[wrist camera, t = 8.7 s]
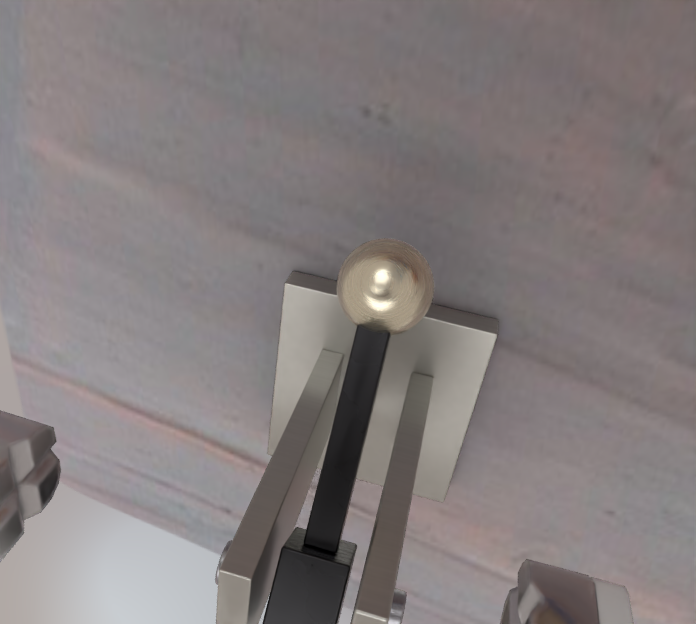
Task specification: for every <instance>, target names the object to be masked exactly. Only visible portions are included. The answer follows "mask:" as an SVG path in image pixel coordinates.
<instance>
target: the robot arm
mask: <svg viewBox="0 0 696 624" xmlns="http://www.w3.org/2000/svg"><path fill="white" fill-rule="evenodd" d="M55 443H56V437H55V432H54V428H53V427H51V426H48V425H45V424H42V423H39V422H36V421H32V420H29V419H26V418H23V417H19V416H16V415H13V414H10V413H7V412H3V411H0V562H1V561H2V559H3V558H4V557H5V556H6V554H7V553H8V552H9V551H10V550H11V548H12V547H13V546H14V545H15V544H16V542H17V541H18V540H19V539H20V537H21V536H22V535H23V534H24V520H26V519H28V518H30V517H32V516H34V515H36V514H39V513H41V512H42V510H43V509H44V508H45V507H46V505H47V504H48V503H49V501H50V500H51V499H52V497H53V494H54V492H55V490H56V488H57V486H58V483H59V478H60V471H61V469H60V461H59V459H58V458H57V457H56V455H55V454H54V453H53V452H52V450H51V449H50V448H51V447H52V446H53V445H54V444H55ZM500 624H634V622H633V616H632V610H631V604H630V598H629V593H628V591H627V589H626V588H625V586H622V585H618V584H615V583H611V582H608V581H604V580H601V579H597V578H594V577H589V576H588V575H585V574H581V573H578V572H574V571H570V570H566V569H563V568H559V567H555V566H551V565H548V564H544V563H540V562H536V561H533V560H529V559H526V560H525V561H524V562H523V563H522V565H521V567H520V570H519V572H518V587H515V588H513V589H511V590H510V591H509V594H508V596H507V599H506V601H505V604H504V608H503V612H502V616H501V621H500Z"/></svg>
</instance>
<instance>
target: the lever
mask: <svg viewBox="0 0 696 624" xmlns="http://www.w3.org/2000/svg"><path fill="white" fill-rule="evenodd" d="M433 295H434V279H433V274H432V271H431V269H430V266H429V264H428V262H427V261H426V259H425V258H424V257H423V255H422V254H421V253H420V252H419V251H418V250H416V249H415V248H414V247H412V246H411V245H409V244H407V243H405V242H403V241H400V240H396V239H388V238H383V239H376V240H371V241H369V242H366V243H364V244H362V245H360V246H359V247H357V248H356V249H354V250H353V251H352V252H351V253H350V254H349V255H348V257H347V258H346V259H345V261H344V262H343V264H342V266H341V268H340V271H339V274H338V278H337V297H338V301H339V304H340V306H341V308H342V310H343V312H344V314H345V315H346V317H347V318H348V319H349V320H350V321H351V322H352V323H353V324H354V325H355V326H356V327H357V328H356V333H355V337H354V341H353V345H352V349H351V353H350V357H349V361H348V365H347V369H346V373H345V377H344V381H343V385H342V389H341V393H340V397H339V401H338V405H337V409H336V413H335V417H334V421H333V425H332V429H331V433H330V437H329V441H328V445H327V449H326V453H325V457H324V461H323V466H322V470H321V474H320V478H319V482H318V486H317V490H316V494H315V498H314V502H313V506H312V510H311V514H310V518H309V522H308V526H307V530H306V529H302V528H299V527H296V528H295V529H294V531H293V532H292V534H291V535H290V537H289V538H288V539H287V541H286V542H285V544H284V545H283V547H282V548H281V552H280V556H279V560H278V564H277V568H276V572H275V576H274V580H273V584H272V588H271V592H270V596H269V600H268V604H267V608H266V612H265V616H264V620H263V624H338V622H339V618H340V614H341V610H342V606H343V602H344V598H345V594H346V590H347V585H348V581H349V577H350V573H351V569H352V565H353V561H354V557H355V553H356V549H357V545H356V544H354V543H351V542H347V541H344V540H341V538H342V534H343V530H344V525H345V521H346V517H347V513H348V509H349V505H350V501H351V497H352V493H353V489H354V485H355V481H356V477H357V473H358V468H359V464H360V460H361V456H362V452H363V448H364V444H365V440H366V436H367V432H368V428H369V424H370V420H371V416H372V411H373V407H374V403H375V399H376V395H377V391H378V387H379V383H380V379H381V375H382V371H383V367H384V363H385V359H386V354H387V350H388V346H389V342H390V338H391V336H392V335H397V334H400V333H403V332H406V331H408V330H409V329H411V328H413V327H414V326H416V325H417V324H418V323H419V322H420V321H421V320H422V319H423V318H424V316H425V315H426V313H427V312H428V310H429V308H430V306H431V303H432V300H433Z"/></svg>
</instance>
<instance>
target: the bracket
mask: <svg viewBox="0 0 696 624" xmlns="http://www.w3.org/2000/svg"><path fill="white" fill-rule="evenodd" d="M498 323H499V321H498V320H497V319H493V318H488V317H484V316H480V315H476V314H472V313H467V312H463V311H459V310H455V309H451V308H447V307H442V306H438V305H434V304H431V306H430V308H429V310H428V312H427V313H426V315H425V316H424V318H423V319H422V320H421V321H420V322H419V323H418V324H417V325H416V326H414V327H413V328H411V329H409V330H408V331H406V332H403V333H400V334H397V335H392V336H391V338H390V342H389V346H388V350H387V354H386V359H385V363H384V367H383V371H382V375H381V379H380V383H379V387H378V391H377V395H376V399H375V403H374V407H373V411H372V416H371V420H370V424H369V428H368V432H367V436H366V440H365V444H364V448H363V452H362V456H361V460H360V464H359V468H358V473H357V477H356V479H358V480H362V481H366V482H369V483H373V484H376V485H380V486H384V487H383V491H382V495H381V499H380V504H379V508H378V512H377V516H376V520H375V524H374V528H373V532H372V537H371V541H370V545H369V549H368V553H367V557H366V561H365V566H364V570H363V574H362V578H361V582H360V586H359V590H358V594H357V599H356V603H355V607H354V611H353V615H352V620H351V623H350V624H401V623H402V618H403V614H404V609H405V603H406V596H407V594H406V592H405V591H403V590H400V589H396V588H395V585H396V580H397V574H398V569H399V564H400V558H401V553H402V547H403V542H404V537H405V531H406V526H407V521H408V515H409V510H410V505H411V499H412V494H413V495H417V496H420V497H424V498H427V499H431V500H435V501H438V502H442V503H443V502H444V500H445V497H446V494H447V491H448V488H449V485H450V482H451V479H452V475H453V472H454V469H455V466H456V463H457V460H458V457H459V454H460V451H461V448H462V445H463V441H464V438H465V435H466V432H467V429H468V426H469V423H470V420H471V417H472V414H473V411H474V407H475V404H476V401H477V398H478V395H479V392H480V389H481V386H482V383H483V380H484V376H485V373H486V370H487V367H488V364H489V361H490V358H491V355H492V352H493V349H494V346H495V342H496V339H497V336H498ZM356 328H357V327H356V326H355V325H354V324H353V323H352V322H351V321H350V320H349V319H348V318H347V317H346V315H345V314H344V312H343V310H342V308H341V306H340V304H339V301H338V297H337V281H333V280H329V279H325V278H321V277H317V276H312V275H308V274H304V273H300V272H296V271H293V272H292V273H291V275H290V276H289V278H288V279H287V281H286V282H285V284H284V294H283V304H282V314H281V324H280V333H279V343H278V353H277V363H276V373H275V383H274V393H273V402H272V412H271V422H270V432H269V442H268V452H267V454H268V455H271V456H272V458H271V460H270V462H269V464H268V466H267V468H266V470H265V472H264V475H263V477H262V479H261V481H260V483H259V485H258V487H257V489H256V492H255V494H254V496H253V498H252V500H251V502H250V504H249V506H248V509H247V511H246V513H245V515H244V517H243V519H242V521H241V524H240V526H239V528H238V530H237V532H236V534H235V536H234V538H233V541H232V540H231V541H229V542H228V543H227V545H226V546H225V548H224V550H223V552H222V555H221V558H220V561H219V564H218V567H217V571H216V578H215V581H216V584H217V585H218V596H217V614H216V624H258V623H259V620H260V618H261V615H262V613H263V610H264V607H265V605H266V602H267V599H268V597H269V594H270V591H271V588H272V584H273V580H274V576H275V572H276V568H277V564H278V560H279V556H280V552H281V548H282V547H283V545H284V544H285V542H286V541H287V539H288V538H289V537H290V535H291V534H292V532H293V530H294V527H295V525H296V522H297V519H298V517H299V514H300V511H301V509H302V506H303V503H304V501H305V498H306V495H307V493H308V490H309V487H310V485H311V482H312V479H313V477H314V474H315V471H316V469H317V468H318V469H322V466H323V461H324V457H325V453H326V449H327V445H328V441H329V437H330V433H331V429H332V425H333V421H334V417H335V413H336V409H337V405H338V401H339V397H340V393H341V389H342V385H343V381H344V377H345V373H346V369H347V365H348V361H349V357H350V353H351V349H352V345H353V341H354V337H355V333H356Z"/></svg>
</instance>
